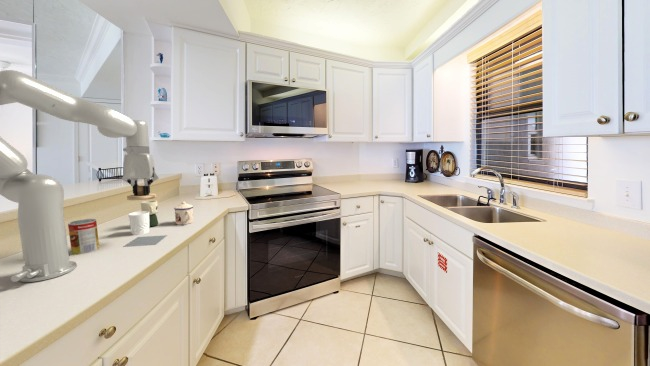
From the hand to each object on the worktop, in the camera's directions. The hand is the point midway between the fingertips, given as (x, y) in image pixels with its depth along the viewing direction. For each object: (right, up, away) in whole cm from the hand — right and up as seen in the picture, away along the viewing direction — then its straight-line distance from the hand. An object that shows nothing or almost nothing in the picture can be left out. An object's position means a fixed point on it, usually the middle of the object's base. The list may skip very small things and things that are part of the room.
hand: (141, 194), depth 106 cm
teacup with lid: (+1, -17, +31) cm, 36 cm away
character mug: (-14, -18, +26) cm, 35 cm away
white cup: (-10, -19, +14) cm, 26 cm away
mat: (0, -21, +3) cm, 21 cm away
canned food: (-16, -22, -8) cm, 28 cm away
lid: (0, -1, 0) cm, 2 cm away
